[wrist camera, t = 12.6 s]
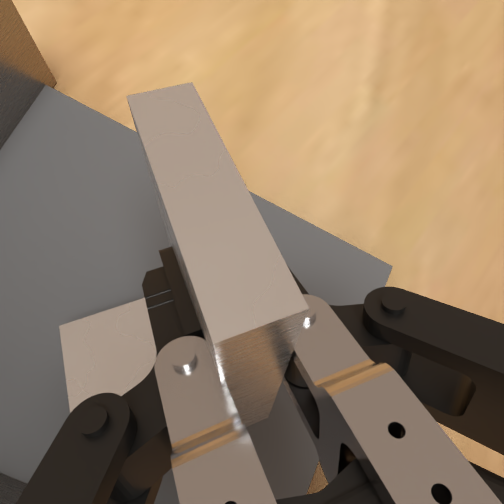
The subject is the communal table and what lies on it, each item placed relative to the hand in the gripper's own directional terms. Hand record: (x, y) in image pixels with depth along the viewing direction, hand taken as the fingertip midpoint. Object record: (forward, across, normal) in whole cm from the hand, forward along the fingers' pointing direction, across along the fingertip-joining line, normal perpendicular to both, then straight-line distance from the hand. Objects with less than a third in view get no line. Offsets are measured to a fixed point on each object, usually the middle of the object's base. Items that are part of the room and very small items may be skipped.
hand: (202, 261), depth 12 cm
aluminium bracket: (0, +2, +5) cm, 6 cm away
